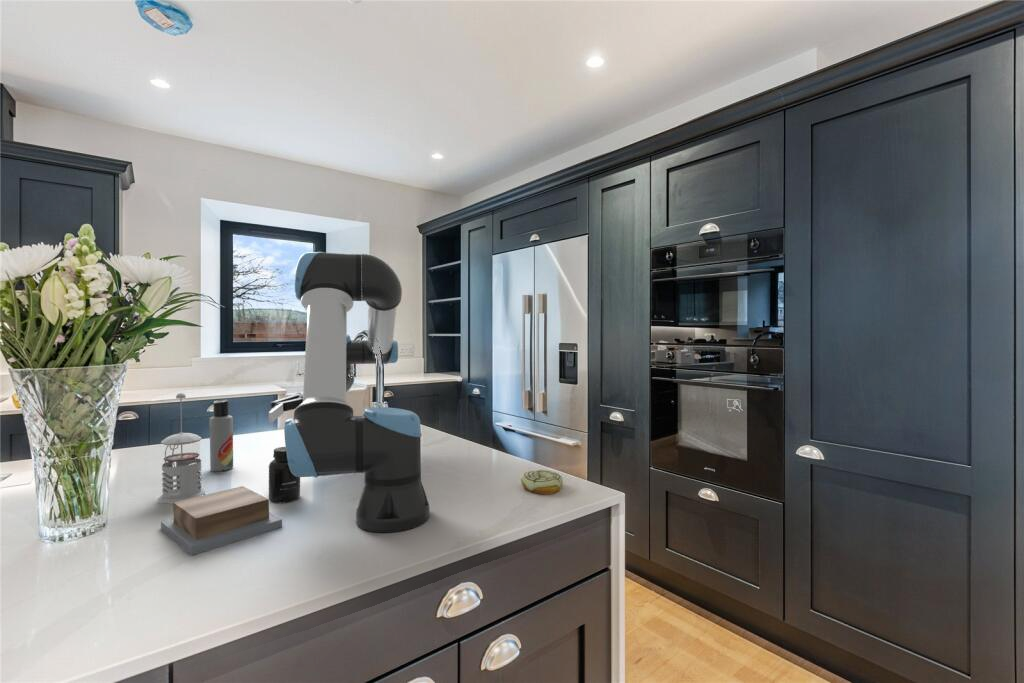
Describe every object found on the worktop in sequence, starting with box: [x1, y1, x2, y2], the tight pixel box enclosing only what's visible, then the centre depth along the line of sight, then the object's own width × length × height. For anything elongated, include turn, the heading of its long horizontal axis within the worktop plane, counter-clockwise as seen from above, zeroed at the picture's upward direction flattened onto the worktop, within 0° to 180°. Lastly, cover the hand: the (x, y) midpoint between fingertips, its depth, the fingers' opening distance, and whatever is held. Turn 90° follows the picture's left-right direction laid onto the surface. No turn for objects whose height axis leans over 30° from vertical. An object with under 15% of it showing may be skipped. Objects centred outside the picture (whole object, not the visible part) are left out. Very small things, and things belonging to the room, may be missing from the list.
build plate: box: [160, 511, 283, 556], centre depth 96 cm, size 18×16×2 cm
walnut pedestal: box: [172, 485, 270, 540], centre depth 96 cm, size 13×13×4 cm
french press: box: [157, 392, 207, 504], centre depth 115 cm, size 10×12×25 cm
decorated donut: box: [520, 469, 564, 495], centre depth 121 cm, size 10×11×4 cm
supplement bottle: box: [268, 446, 301, 504], centre depth 113 cm, size 7×7×12 cm
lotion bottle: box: [209, 399, 234, 472], centre depth 138 cm, size 6×6×20 cm
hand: (297, 418), depth 120 cm, fingers open, 13 cm apart
